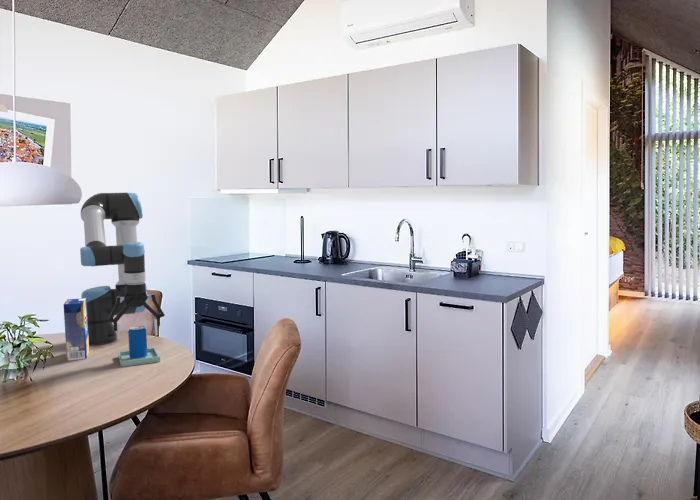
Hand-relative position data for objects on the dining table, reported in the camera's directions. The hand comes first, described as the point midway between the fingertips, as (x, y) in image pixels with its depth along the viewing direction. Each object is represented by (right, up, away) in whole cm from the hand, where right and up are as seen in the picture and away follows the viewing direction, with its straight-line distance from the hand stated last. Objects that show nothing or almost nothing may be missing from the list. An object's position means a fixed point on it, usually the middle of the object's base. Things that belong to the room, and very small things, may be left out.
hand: (137, 336), depth 217 cm
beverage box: (-26, -9, +5) cm, 27 cm away
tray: (0, -9, 0) cm, 9 cm away
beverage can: (0, -8, 0) cm, 8 cm away
